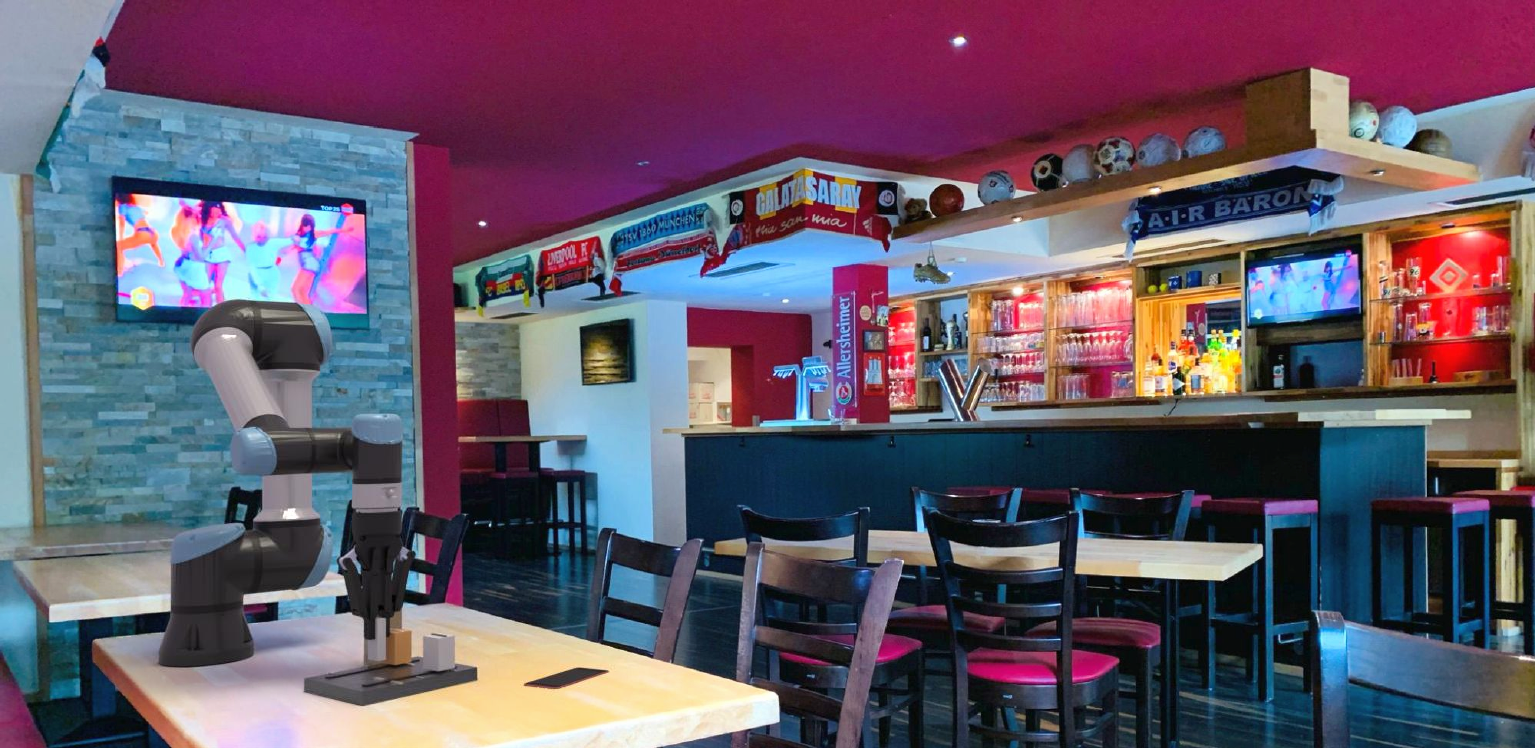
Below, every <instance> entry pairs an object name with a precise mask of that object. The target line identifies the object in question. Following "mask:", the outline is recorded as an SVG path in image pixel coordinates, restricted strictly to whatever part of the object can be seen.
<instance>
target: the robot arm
mask: <svg viewBox="0 0 1535 748" xmlns="http://www.w3.org/2000/svg"><path fill="white" fill-rule="evenodd" d="M189 344H190V351H191V354H192V357H193V358H194V361H195V363H196V365H197V366H198V367H199V368H200V369H202V370H203V371H205V372H206V373H208V376H209V378H210V379H211V381H212V384H213V386H214V388H215V390H216V393H217V395H218V396H219V398H220V400H221V403H222V405H223V407H224V409H225V411H226V413H227V416H228V417H229V419H230V421H231V424H232V426H233V428H234V430H235V432H234V433H233V435H232V437H231V442H230V447H229V448H230V449H229V453H230V454H229V455H230V459H231V465H232V468H233V470H234V471H235V472H236V474H239V475H240V476H241V475H242V476H258V477H261V478H262V479H261V481H262V482H261V483H262V484H261V486H262V489H261V490H262V491H261V493H262V494H261V495H262V498H261V499H262V505H261V507H262V509H261V510H260V512H259V513H258V514H257V515H256V516H255V517H254V518H253V521H252V522H253V525H252V527H253V529H248V530H246V527H245V525H244V523H242V522H234V523H233V522H231V523H225V524H214V525H209V526H202V527H197V528H193V529H188V530H187V531H182V532H180V533H178V534H177V535H175V537H174V538H173V540H172V544H171V552H170V558H169V564H170V612H169V613H170V617H169V620H168V623H167V626H166V629H165V632H164V634H163V637H162V640H161V643H160V646H159V649H158V664H159V665H163V666H168V667H195V666H208V665H217V664H218V665H219V664H223V663H230V662H235V661H240V660H242V659H247V658H249V657H251V656H252V655H254V654H255V652H254V650H255V649H254V647H255V646H254V645H255V641H254V638H253V636H252V633H251V630H250V627H249V624H248V622H247V618H246V615H245V613H244V611H245V610H244V596H245V595H250V594H251V595H253V594H254V595H255V594H262V593H264V594H265V593H273V592H282V591H283V592H284V591H295V592H296V591H299V590H301V589H308V588H314V587H316V586H318V585H320V584H321V583H322V582H323V581H324V579H325V577H326V576H327V574H328V572H329V570H330V566H331V564H332V563H331V562H332V559H333V553H334V552H333V550H334V543H333V541H334V540H333V538H332V532H331V530H330V528H329V527H328V526H327V525H324V524H322V523H321V515H320V514H319V513H318V512H316V511H315V510H314V508H313V474H338V473H339V474H344V473H345V474H346V473H347V474H352V479H351V480H352V481H351V482H352V485H351V486H352V489H351V490H352V492H351V493H352V494H351V495H352V496H351V497H352V499H351V508H352V509H354V510H355V512H353V514H352V516H351V518H352V519H351V526H352V527H351V533H352V538H353V541H352V543H351V545H350V551H348V553H346V554H344V556H339V557H337V558H336V564H337V565H338V567H339V568H340V570H341V572H342V576H343V579H344V584H345V589H346V593H347V598H348V601H349V607H350V611H351V615H352V616H356V617H359V618H361V619H362V620H363V639H364V638H365V639H366V640H368V659H369V660H374V661H382V660H386V637H389V635H390V618H392V617H393V616H394V613H395V612H398V611H400V610H401V608H402V609H403V603H404V598H405V594H406V593H405V592H406V588H407V584H408V579H409V574H410V569H411V566H412V563H413V561H414V559H415V558H416V556H417V553H416V551H415V550H409V549H407V548H406V547H404V543H403V541H402V540H403V539H402V538H401V533H402V532H403V531H402V530H403V513H402V512H401V511H402V510H398V509H399V508H401V507H402V505H403V502H402V499H403V491H402V489H403V487H402V486H403V485H402V484H403V483H402V482H403V479H402V478H403V477H402V476H403V475H402V474H403V469H402V468H403V440H404V435H403V430H402V429H403V428H402V427H403V425H402V418H401V417H400V416H399V415H398V414H396V413H361V414H356V415H355V416H354V417H353V419H352V426H345V427H344V426H340V427H339V426H338V427H334V426H333V427H312V425H313V422H312V421H313V420H312V419H313V415H312V414H313V413H312V412H313V409H312V408H313V406H312V405H313V404H312V403H313V401H312V400H313V399H312V398H313V396H312V395H313V394H312V393H313V392H312V389H313V387H312V385H313V384H312V383H313V380H314V379H316V378H317V377H318V376H319V375H320V374H321V366H324V365H326V364H327V363H329V360H330V359H331V356H332V353H331V352H332V351H333V335H332V330H331V325H330V323H329V320H328V318H327V316H326V315H325V313H324V311H323V310H322V309H321V308H319V307H318V306H317V305H313V304H305V303H301V302H296V301H295V302H291V301H290V302H288V301H269V300H254V299H253V300H251V299H241V298H238V299H237V298H235V299H230V300H229V299H227V300H224V301H221V302H219V303H216V304H215V305H213V306H211V307H210V308H208V309H207V310H206V311H205V312H203V314H202V315H201V316H199V318H198V319H197V321H196V322H195V324H194V325H193V328H192V331H191V333H190V341H189ZM395 561H396V562H395ZM394 562H395V565H394ZM358 564H359V565H360V571H359V570H358V568H357V565H358ZM359 572H360V573H359ZM360 576H361V579H360ZM377 615H378V617H377Z"/></svg>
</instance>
